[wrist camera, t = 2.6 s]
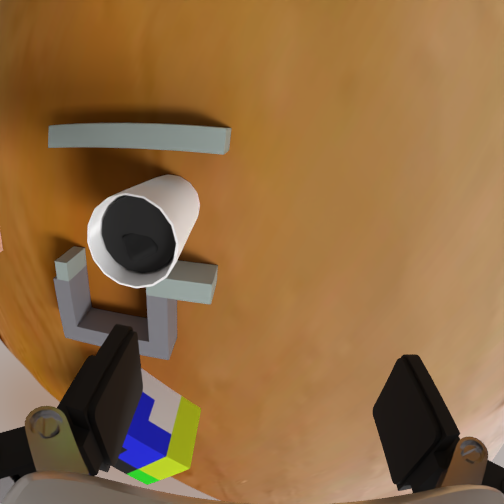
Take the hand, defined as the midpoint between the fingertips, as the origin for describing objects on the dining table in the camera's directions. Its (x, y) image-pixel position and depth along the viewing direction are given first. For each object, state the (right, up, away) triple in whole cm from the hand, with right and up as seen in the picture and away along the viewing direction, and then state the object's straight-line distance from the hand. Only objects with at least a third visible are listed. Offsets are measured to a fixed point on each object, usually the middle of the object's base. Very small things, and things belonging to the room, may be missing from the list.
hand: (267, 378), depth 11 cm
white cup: (-8, +9, +19) cm, 22 cm away
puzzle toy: (-14, -17, +30) cm, 37 cm away
